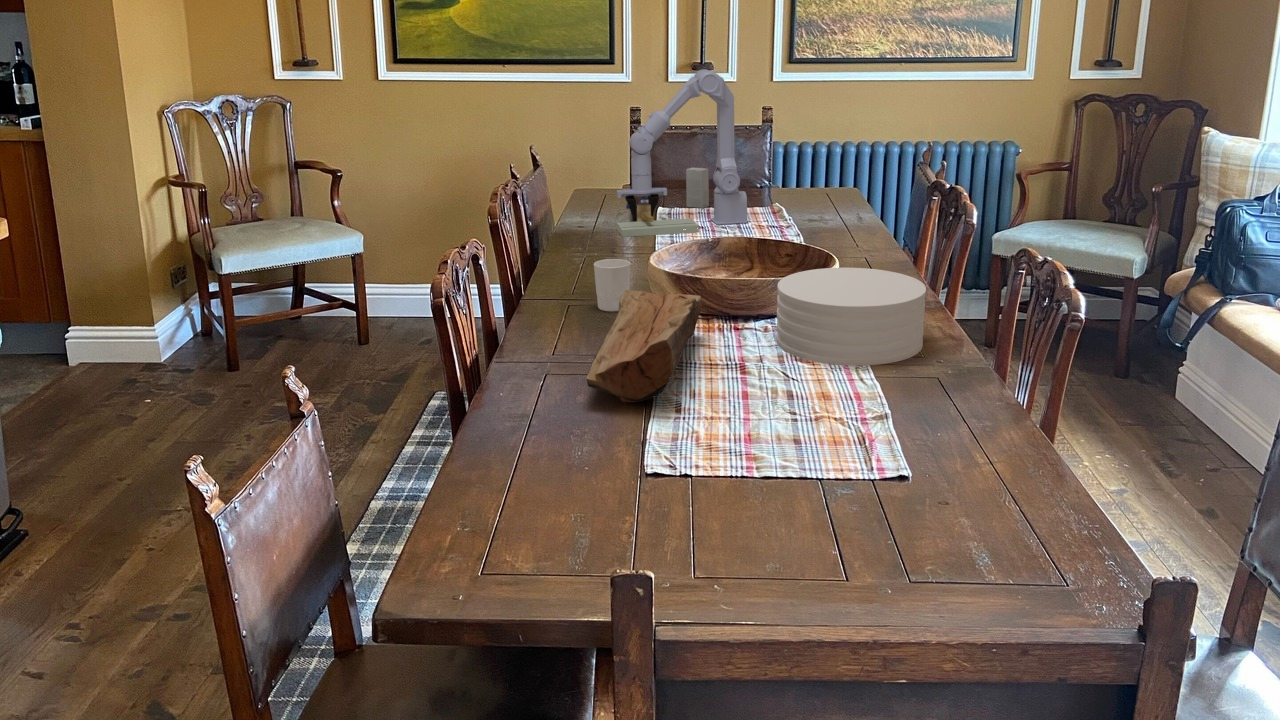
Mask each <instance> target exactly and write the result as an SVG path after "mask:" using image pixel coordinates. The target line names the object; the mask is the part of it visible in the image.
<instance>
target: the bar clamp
mask: <svg viewBox="0 0 1280 720" xmlns="http://www.w3.org/2000/svg"><path fill="white" fill-rule="evenodd" d="M636 203H648V204H649V202H648V196H641V199H640V200H639V201H638V202H637V201H636ZM658 205H659V202H658V203H657V205H656V207H657V206H658ZM625 206H626V209H628V210H630V208H629V205H628V203H627V202H626V205H625Z"/></svg>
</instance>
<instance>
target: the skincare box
mask: <svg viewBox="0 0 1280 720" xmlns="http://www.w3.org/2000/svg"><path fill="white" fill-rule="evenodd" d="M685 177H686V178H685V180H686V181H685V185H686V186H685V187H686V191H685V193H686V197H685V198H686V207H687V208H696V209H697V208H698V209H705V208H707V207H709V206H710V205H709V204H710V198H709V197H710V196H709V195H710V194H709V190H710V189H709V187H710V186H709V168H704V167H690V168H686V169H685Z"/></svg>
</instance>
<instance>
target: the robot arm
mask: <svg viewBox="0 0 1280 720" xmlns="http://www.w3.org/2000/svg"><path fill="white" fill-rule="evenodd" d="M701 93H703V94H704V95H707V96H708V97H709V98H710V99H711V100H713V102H715V103H716V137H717V138H716V139H717V140H716V141H717V145H716V146H717V150H716V151H717V159H716V161H715V170H714V172H713V175H712V180H713V183H714V185H715V188H714V190H713V202H714V203H713V213H714V214H713V217H710V221H712V222H713V223H714V224H715V225H733V224H734V225H735V224H748V222H749V221H748V198H747V193H746V191H744V190H739V187H740V185H741V178H740V176H739V174H738V166H737V163H736V160H735V153H736V152H735V95H734V93H733V92H732V90H731V89H730V88H729V86H728V85H727V83H726V82H725V79H724V78H723V77H722V76H721V75H719V74H718V73H716V72H714V71H710V70H709V69H704V68H703V69H700V70H698V71H697V72H695V74H694V76H691V77H690V78H689V79H688V80H687V81H686V82H685V83H684V84H683V86H682V87H681V88H680V89H679V90H678V92H677V93H676V94H675V95H674V96H673V97H672V99H671V100H670V101H669V102H668V103H667V105H666V106H664V108H663V109H662V110H656V111H653V113H652V112H650V114H648V117H649V118H648V119H647V120H646V121H645V122H644V123H643V124H642V126H638V127H637V130H638V131H635V132H633V134H631V136H630V138H629V142H628V143H629V147H630V148H631V152H630V156H631V159H630V166H631V188H627V189H619V190H618V189H617V190H616V198H617V199H622V198H625V201H626V204H627V203H628V205H629V208H630V209H629V211H630V214H631V217H632V218H631V219H632V222H636V202H637V200H636V197H648V202H649V204H650V205H651V216H652V217H653V218H654V212H655V209H656V207H657V206H658V205H657V203H658V204H659V200H660V196H668V188H667V187H652V158H651V150H652V148H653V145H654V144H653V143H654V142H656V141H657V140H658V139H659V138H660V137H661V136H662V135H663V134H664V132H665V131H666V130H667V129H668V128H669V127H670V126H671V120H672V118H673V116H674V115H676V113H678V112H679V110H680V109H681V108H683V106H685V104H687V102H688V101H689V100H691V99H694V98H698V97H701V96H702V94H701ZM656 205H657V206H656Z"/></svg>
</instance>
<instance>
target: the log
mask: <svg viewBox="0 0 1280 720" xmlns="http://www.w3.org/2000/svg"><path fill="white" fill-rule="evenodd" d="M701 311H702V295H696V294H680V293H678V294H676V293H653V292H648V291H645V290H633V289H630V290H624V292H623V293H622V294H621V295H620V297H619V311H618V313H617V315H616V318H615V320H614V322H613V324H612V326H611V327H610V328H609V330H608V332H607V334H606V335H605V337H604V339H603V341H602V343H601V344H600V346H599V348H598V350H597V352H596V353H595V355H594V357H593V358H592V361H591V365H590V368H589V370H588V373H587V375H586V377H585V380H586V383H587V386H588V387H589V388H592V389H595V390H598V391H601V392H604V393H607V394H610V395H614V396H617V397H618V399H619V400H620V401H622V402H623V403H637V402H643V401H647V400H651V399H654V397H655V398H657V397H658V396H660V395H661V394H662V393H664V391H665V390H666V388H667V387H668V385H669V383H670V381H671V378H672V376H673V374H674V372H675V370H676V369H677V367H678V365H679V363H680V359H681V356H682V355H683V352H684V350H685V348H686V346H687V343H688V342H689V341H690V340H691V338H692V337H693V336H694V335H695V330H696V326H697V322H698V320H699V316H700V313H701Z"/></svg>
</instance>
